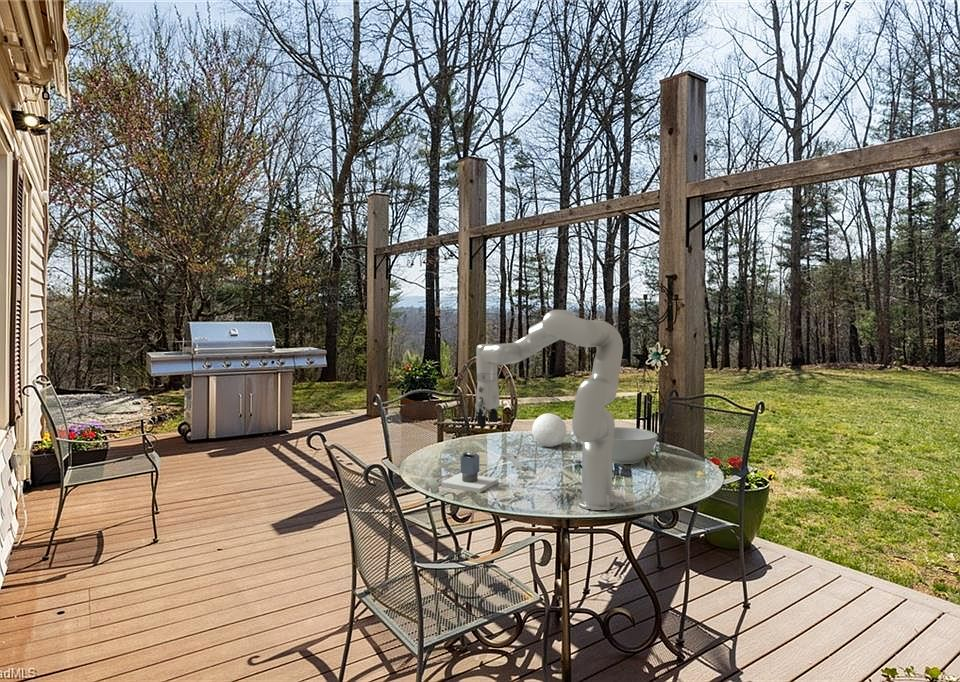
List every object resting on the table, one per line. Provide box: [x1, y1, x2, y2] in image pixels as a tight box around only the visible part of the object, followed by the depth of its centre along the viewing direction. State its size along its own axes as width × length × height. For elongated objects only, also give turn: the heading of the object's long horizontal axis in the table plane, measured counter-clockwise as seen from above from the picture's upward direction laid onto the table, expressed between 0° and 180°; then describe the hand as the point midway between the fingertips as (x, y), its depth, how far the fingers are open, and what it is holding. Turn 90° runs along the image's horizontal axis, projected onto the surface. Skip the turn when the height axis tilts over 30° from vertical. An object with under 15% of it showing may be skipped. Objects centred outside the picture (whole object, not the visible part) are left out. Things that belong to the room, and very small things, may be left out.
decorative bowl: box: [612, 426, 659, 465], centre depth 233 cm, size 27×27×12 cm
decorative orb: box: [531, 412, 567, 448], centre depth 260 cm, size 20×18×16 cm
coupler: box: [460, 451, 480, 475], centre depth 198 cm, size 5×5×7 cm
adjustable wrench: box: [500, 452, 528, 472], centre depth 230 cm, size 25×6×2 cm, turn 11°
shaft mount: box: [440, 472, 499, 494], centre depth 199 cm, size 16×14×10 cm
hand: (487, 424), depth 199 cm, fingers open, 9 cm apart
